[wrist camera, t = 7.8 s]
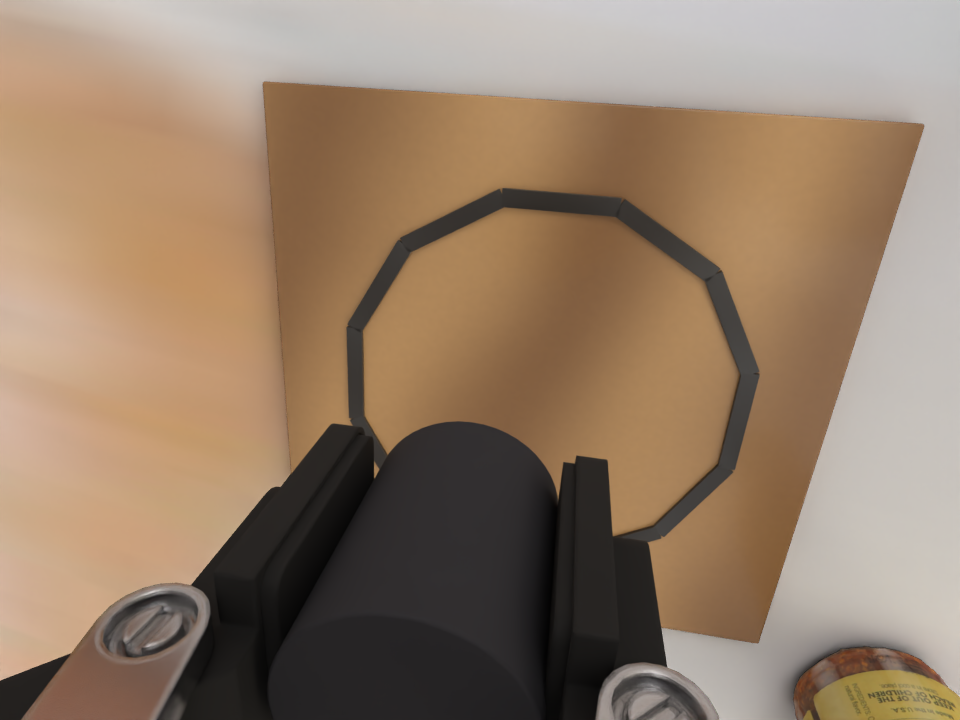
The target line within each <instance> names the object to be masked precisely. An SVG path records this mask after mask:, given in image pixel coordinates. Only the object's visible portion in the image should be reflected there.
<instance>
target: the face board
mask: <svg viewBox="0 0 960 720" xmlns="http://www.w3.org/2000/svg"><path fill="white" fill-rule="evenodd" d="M263 94H264V108H265V122H266V136H267V149H268V163H269V177H270V191H271V204H272V218H273V232H274V246H275V260H276V273H277V287H278V301H279V315H280V329H281V342H282V356H283V370H284V384H285V397H286V411H287V425H288V439H289V453H290V466H291V473H292V472H293V471H294V470H295V468H296V467H297V466H298V465H299V463H300V462H301V461H302V460H303V458H304V457H305V456H306V455H307V453H308V452H309V451H310V449H311V448H312V447H313V446H314V444H315V443H316V442H317V441H318V439H319V438H320V437H321V436H322V434H323V433H324V432H325V431H326V429H327V428H328V427H329V426H330V425H331V424H333V423H335V424H343V425H350V426H358V427H362V428H363V429H364V432H365V435H366V436H372V437H373V440H374V479H375V477H376V475H377V473H378V471H379V470H380V468H381V466H382V464H383V463H384V461H385V459H386V457H387V456H388V454H389V453H390V451H391V450H392V449H393V448H394V447H395V446H396V445H397V444H398V443H399V442H400V441H401V440H402V439H403V438H405V437H406V436H408V435H410V434H411V433H413V432H415V431H417V430H419V429H421V428H423V427H427V426H430V425H433V424H437V423H443V422H454V421H463V422H473V423H479V424H484V425H487V426H490V427H494V428H497V429H499V430H501V431H503V432H506V433H508V434H510V435H511V436H513V437H515V438H516V439H518V440H519V441H521V442H522V443H523V444H525V445H526V446H527V447H529V448H530V449H531V450H532V451H533V452H534V453H535V454H536V455H537V456H538V458H539V459H540V460H541V461H542V463H543V464H544V465H545V467H546V468H547V470H548V472H549V473H550V475H551V477H552V480H553V482H554V484H555V488H556V491H557V495H558V498H559V491H560V483H561V476H562V468H563V462H568V463H575V459H576V455H577V456H584V457H592V458H599V459H607V460H608V471H609V486H610V501H611V517H612V532H613V536H616V537H623V538H629V539H636V540H643V541H647V542H648V544H649V549H650V555H651V561H652V568H653V575H654V582H655V589H656V595H657V602H658V609H659V616H660V623H661V627H662V628H668V629H674V630H680V631H685V632H691V633H697V634H703V635H709V636H715V637H721V638H727V639H733V640H739V641H745V642H751V643H759V639H760V636H761V633H762V630H763V627H764V624H765V621H766V618H767V615H768V611H769V608H770V605H771V602H772V599H773V596H774V593H775V590H776V587H777V583H778V580H779V577H780V574H781V571H782V568H783V565H784V562H785V559H786V555H787V552H788V549H789V546H790V543H791V540H792V537H793V534H794V531H795V527H796V524H797V521H798V518H799V515H800V512H801V509H802V506H803V503H804V499H805V496H806V493H807V490H808V487H809V484H810V481H811V478H812V475H813V471H814V468H815V465H816V462H817V459H818V456H819V453H820V450H821V446H822V443H823V440H824V437H825V434H826V431H827V428H828V425H829V422H830V418H831V415H832V412H833V409H834V406H835V403H836V400H837V397H838V394H839V390H840V387H841V384H842V381H843V378H844V375H845V372H846V369H847V366H848V362H849V359H850V356H851V353H852V350H853V347H854V344H855V341H856V338H857V334H858V331H859V328H860V325H861V322H862V319H863V316H864V313H865V310H866V306H867V303H868V300H869V297H870V294H871V291H872V288H873V285H874V282H875V278H876V275H877V272H878V269H879V266H880V263H881V260H882V257H883V254H884V250H885V247H886V244H887V241H888V238H889V235H890V232H891V229H892V226H893V222H894V219H895V216H896V213H897V210H898V207H899V204H900V201H901V198H902V194H903V191H904V188H905V185H906V182H907V179H908V176H909V173H910V170H911V166H912V163H913V160H914V157H915V154H916V151H917V148H918V145H919V142H920V138H921V135H922V132H923V129H924V124H918V123H902V122H887V121H871V120H856V119H840V118H824V117H809V116H793V115H778V114H762V113H746V112H731V111H715V110H700V109H684V108H668V107H653V106H637V105H622V104H606V103H590V102H575V101H559V100H544V99H528V98H512V97H497V96H481V95H466V94H450V93H435V92H419V91H403V90H388V89H372V88H357V87H341V86H325V85H310V84H294V83H279V82H263Z"/></svg>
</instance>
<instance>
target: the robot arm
mask: <svg viewBox="0 0 960 720" xmlns="http://www.w3.org/2000/svg"><path fill="white" fill-rule="evenodd" d="M373 480H374V440H373V437H372V436H366V435H365V432H364V429H363V428H362V427H358V426H350V425H343V424H335V423H333V424H331V425H330V426H329V427H328V428H327V429H326V431H325V432H324V433H323V434H322V436H321V437H320V438H319V439H318V441H317V442H316V443H315V444H314V446H313V447H312V448H311V449H310V451H309V452H308V453H307V455H306V456H305V457H304V458H303V460H302V461H301V462H300V463H299V465H298V466H297V467H296V468H295V470H294V471H293V472H292V473H291V475H290V476H289V477H288V478H287V480H286V481H285V482H284V484H283V485H282V486H281V487H274V488H271V489H270V490H269V491H268V492H267V493H266V494H265V495H264V497H263V498H262V499H261V500H260V501H259V503H258V504H257V505H256V506H255V508H254V509H253V510H252V511H251V512H250V514H249V515H248V516H247V517H246V519H245V520H244V521H243V522H242V523H241V525H240V526H239V527H238V528H237V530H236V531H235V532H234V533H233V534H232V536H231V537H230V538H229V539H228V541H227V542H226V543H225V544H224V545H223V547H222V548H221V549H220V550H219V552H218V553H217V554H216V555H215V556H214V558H213V559H212V560H211V561H210V563H209V564H208V565H207V566H206V567H205V569H204V570H203V571H202V572H201V574H200V575H199V576H198V577H197V578H196V580H195V581H194V582H193V583H192V585H186V584H181V583H164V584H157V585H153V586H149V587H145V588H142V589H140V590H137V591H135V592H133V593H131V594H128V595H126V596H124V597H123V598H121V599H120V600H118V601H117V602H115V603H114V604H113V605H111V606H110V607H109V608H108V609H107V610H106V611H105V612H104V613H103V614H102V615H101V616H100V617H99V618H98V619H97V620H96V622H95V623H94V624H93V626H92V627H91V628H90V630H89V631H88V632H87V633H86V635H85V636H84V637H83V639H82V640H81V641H80V643H79V644H78V645H77V647H76V648H75V649H74V651H73V652H72V653H71V654H68V655H66V656H63V657H61V658H58V659H55V660H53V661H50V662H48V663H45V664H42V665H40V666H37V667H35V668H32V669H29V670H27V671H24V672H22V673H19V674H16V675H14V676H11V677H9V678H6V679H3V680H1V681H0V720H273V717H272V714H271V712H270V707H269V702H268V693H267V683H268V676H269V670H270V667H271V665H272V662H273V659H274V657H275V655H276V654H277V652H278V650H279V648H280V646H281V645H282V643H283V641H284V639H285V637H286V636H287V634H288V632H289V630H290V629H291V627H292V625H293V623H294V621H295V620H296V618H297V616H298V614H299V612H300V611H301V609H302V607H303V605H304V604H305V602H306V600H307V598H308V596H309V595H310V593H311V591H312V589H313V587H314V586H315V584H316V582H317V580H318V579H319V577H320V575H321V573H322V571H323V570H324V568H325V566H326V564H327V562H328V561H329V559H330V557H331V555H332V554H333V552H334V550H335V548H336V546H337V545H338V543H339V541H340V539H341V537H342V536H343V534H344V532H345V530H346V529H347V527H348V525H349V523H350V521H351V520H352V518H353V516H354V514H355V512H356V511H357V509H358V507H359V505H360V504H361V502H362V500H363V498H364V496H365V495H366V493H367V491H368V489H369V488H370V486H371V484H372V482H373ZM545 702H546V720H719V717H718V714H717V712H716V710H715V708H714V707H713V705H712V703H711V701H710V700H709V698H708V697H707V696H706V695H705V694H704V693H703V691H702V690H701V689H700V688H699V687H698V686H697V685H696V684H695V683H694V682H692V681H691V680H689V679H688V678H686V677H685V676H683V675H682V674H680V673H679V672H677V671H674V670H672V669H669V668H667V664H666V657H665V650H664V643H663V636H662V629H661V623H660V616H659V609H658V602H657V595H656V589H655V582H654V575H653V568H652V561H651V555H650V549H649V544H648V542H647V541H643V540H636V539H629V538H623V537H616V536H613V532H612V517H611V501H610V486H609V471H608V460H607V459H599V458H592V457H584V456H577V455H576V459H575V463H568V462H563V468H562V476H561V483H560V491H559V498H558V506H557V519H556V533H555V548H554V563H553V578H552V593H551V608H550V623H549V637H548V652H547V667H546V682H545Z"/></svg>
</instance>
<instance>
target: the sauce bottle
mask: <svg viewBox="0 0 960 720" xmlns="http://www.w3.org/2000/svg"><path fill="white" fill-rule="evenodd" d="M793 701H794V705H795V714H796V717H797V720H960V697H959V696H958V695H957V694H956V693H955V692H953V691H952V690H950V689H949V688H948V687H947V685H946V684H945V683H944V681H943V680H942V678H941V677H940V676H939V675H938V674H937V673H936V672H935V671H934V670H933V669H931V668H930V667H929V666H928V665H926V664H925V663H924V662H923V661H922V660H920V659H918V658H916V657H914V656H912V655H909V654H906V653H903V652H900V651H897V650H891V649H887V648H871V647H866V646H864V647H857V648H848V649H840V650H839V651H838V652H836V653H834V654H831V655H830V656H828V657H826V658H824V659H823V660H821V661H819V662H818V663H817V664H816V665H814V666H812V667H811V668H810V669H809V670H807V671H806V672H804V674H803V675H802V676H801V677H800V678H799V680H798V683H797V684H796V687H795V690H794V698H793Z"/></svg>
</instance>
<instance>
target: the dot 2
mask: <svg viewBox="0 0 960 720" xmlns="http://www.w3.org/2000/svg"><path fill="white" fill-rule="evenodd" d="M557 506H558V495H557V491H556V488H555V484H554V482H553V480H552V477H551V475H550V473H549V472H548V470H547V468H546V467H545V465H544V464H543V463H542V461H541V460H540V459H539V458H538V456H537V455H536V454H535V453H534V452H533V451H532V450H531V449H530V448H529V447H527V446H526V445H525V444H523V443H522V442H521V441H519V440H518V439H516V438H515V437H513V436H511V435H510V434H508V433H506V432H503V431H501V430H499V429H497V428H494V427H490V426H487V425H484V424H479V423H473V422H463V421H454V422H443V423H437V424H433V425H430V426H427V427H423V428H421V429H419V430H417V431H415V432H413V433H411V434H410V435H408V436H406V437H405V438H403V439H402V440H401V441H400V442H399V443H398V444H397V445H396V446H395V447H394V448H393V449H392V450H391V451H390V453H389V454H388V456H387V457H386V459H385V461H384V463H383V464H382V466H381V468H380V470H379V471H378V473H377V475H376V477H375V479H374V480H373V482H372V484H371V486H370V488H369V489H368V491H367V493H366V495H365V496H364V498H363V500H362V502H361V504H360V505H359V507H358V509H357V511H356V512H355V514H354V516H353V518H352V520H351V521H350V523H349V525H348V527H347V529H346V530H345V532H344V534H343V536H342V537H341V539H340V541H339V543H338V545H337V546H336V548H335V550H334V552H333V554H332V555H331V557H330V559H329V561H328V562H327V564H326V566H325V568H324V570H323V571H322V573H321V575H320V577H319V579H318V580H317V582H316V584H315V586H314V587H313V589H312V591H311V593H310V595H309V596H308V598H307V600H306V602H305V604H304V605H303V607H302V609H301V611H300V612H299V614H298V616H297V618H296V620H295V621H294V623H293V625H292V627H291V629H290V630H289V632H288V634H287V636H286V637H285V639H284V641H283V643H282V645H281V646H280V648H279V650H278V652H277V654H276V655H275V657H274V659H273V662H272V665H271V667H270V670H269V676H268V683H267V693H268V702H269V707H270V712H271V714H272V717H273V720H546V702H545V682H546V667H547V652H548V637H549V623H550V608H551V593H552V578H553V563H554V548H555V533H556V519H557Z"/></svg>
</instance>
